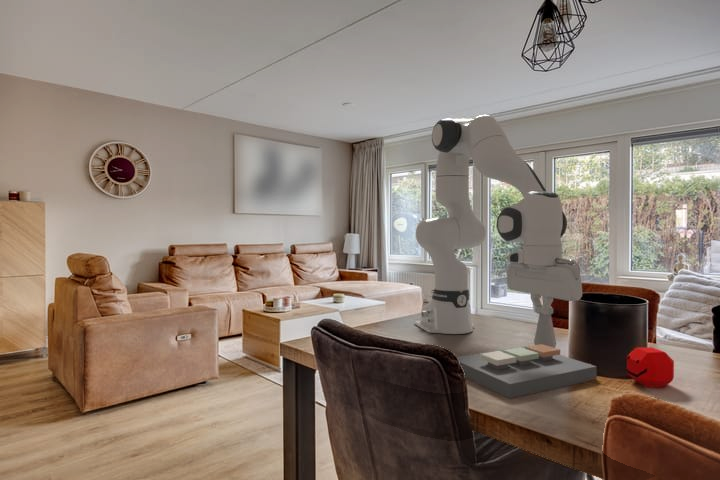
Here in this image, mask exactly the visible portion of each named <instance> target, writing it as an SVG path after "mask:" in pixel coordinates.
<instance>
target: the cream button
mask: <svg viewBox="0 0 720 480" xmlns="http://www.w3.org/2000/svg"><path fill="white" fill-rule="evenodd" d="M494 351H495V352H492V351H488V352H489V353H486V352H482V353H483V354H480V359H482V360H484V361H487V362H488V366H489V367H492V368H494V369H497V370H500V369H505V368H508V364H510V363H515V362H516V357H515V356H512V355H509V354H506V353H503V352H501V351H498V350H494Z"/></svg>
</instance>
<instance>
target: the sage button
mask: <svg viewBox="0 0 720 480" xmlns="http://www.w3.org/2000/svg"><path fill="white" fill-rule="evenodd" d="M519 347H520V348H517V347H513V348H514V349H511V348H507V349H508V350H504V349H502V350H503V353H506V354H509V355H512V356H515V357H516V362H515V364H518V365H527V364H531V360H532V359H538V358H539V353H537V352H534V351H530V350H527V349H524V348H521V347H522V346H519Z"/></svg>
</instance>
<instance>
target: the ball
mask: <svg viewBox="0 0 720 480" xmlns="http://www.w3.org/2000/svg"><path fill="white" fill-rule="evenodd" d="M626 374H628V375H629V376H630V378H632V379H633V380H634V382H636V383H638V384H641V385H643V386H644V387H647V388H666V386H667V385H669V384H670V383H671V382H673V380H674V378H675V376H674V375H675V361H674V360H673V358H671V356H670V355H669V354H668V353H667V352H665V351H663V350H660V349H657V348H654V347H653V346H651V347H650V346H649V347H647V346H645V347H635V348H634V349H633V350H631V352H630V353H629V354H628V355H627V357H626Z"/></svg>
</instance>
